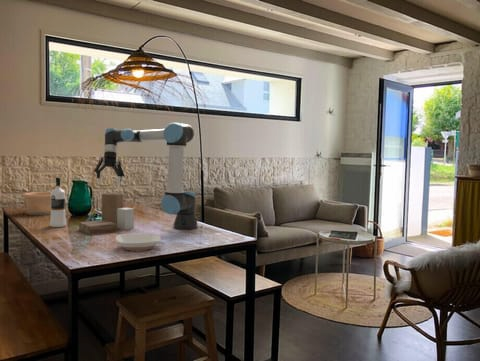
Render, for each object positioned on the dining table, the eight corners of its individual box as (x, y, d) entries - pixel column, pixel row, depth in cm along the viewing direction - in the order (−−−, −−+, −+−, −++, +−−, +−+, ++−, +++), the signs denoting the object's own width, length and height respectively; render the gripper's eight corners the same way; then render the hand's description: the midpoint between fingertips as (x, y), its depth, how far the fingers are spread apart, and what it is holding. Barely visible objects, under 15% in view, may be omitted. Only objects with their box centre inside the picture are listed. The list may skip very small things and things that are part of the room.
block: (115, 226, 259) (115, 194, 257) (101, 225, 261) (101, 193, 259) (123, 223, 268) (123, 193, 267) (109, 222, 270) (109, 192, 269)
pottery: (42, 216, 285) (42, 196, 284) (16, 214, 291) (15, 194, 290) (63, 212, 306) (63, 193, 305) (39, 210, 312) (39, 191, 311)
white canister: (133, 227, 257) (134, 208, 256) (125, 229, 251) (125, 209, 250) (126, 226, 260) (126, 207, 259) (117, 228, 254) (117, 208, 253)
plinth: (116, 232, 244) (117, 223, 244) (90, 235, 234) (90, 226, 233) (105, 227, 256) (105, 219, 256) (79, 230, 245) (79, 222, 245)
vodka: (69, 225, 256) (69, 177, 254) (56, 228, 248) (56, 178, 246) (59, 224, 261) (59, 176, 259) (46, 226, 253) (46, 177, 250)
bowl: (163, 252, 201) (163, 241, 200) (116, 254, 193) (116, 243, 193) (156, 242, 221) (156, 232, 221) (114, 244, 214) (114, 234, 213)
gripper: (123, 157, 275) (122, 188, 271) (89, 149, 256) (87, 183, 252) (130, 155, 271) (129, 187, 266) (95, 147, 252) (94, 181, 247)
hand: (109, 185), depth 259 cm, fingers open, 13 cm apart
